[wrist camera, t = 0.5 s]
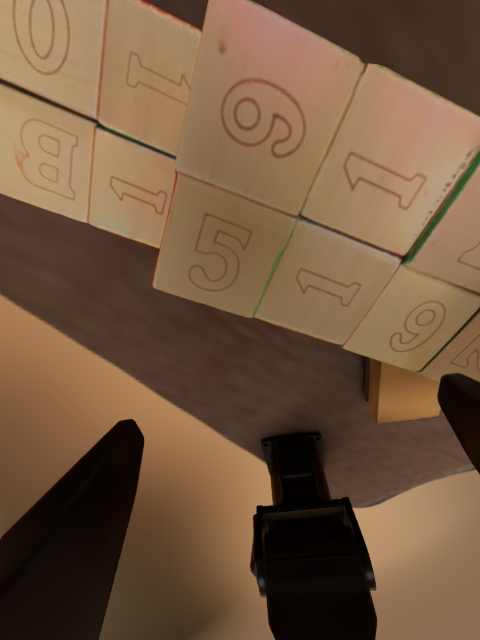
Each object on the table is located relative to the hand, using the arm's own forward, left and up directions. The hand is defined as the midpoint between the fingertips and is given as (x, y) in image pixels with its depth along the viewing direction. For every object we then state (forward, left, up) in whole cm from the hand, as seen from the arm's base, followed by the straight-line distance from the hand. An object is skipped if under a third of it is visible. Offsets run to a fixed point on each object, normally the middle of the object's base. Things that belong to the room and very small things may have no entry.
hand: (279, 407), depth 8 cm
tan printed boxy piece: (+6, 0, -14) cm, 15 cm away
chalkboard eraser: (-10, -10, -14) cm, 20 cm away
